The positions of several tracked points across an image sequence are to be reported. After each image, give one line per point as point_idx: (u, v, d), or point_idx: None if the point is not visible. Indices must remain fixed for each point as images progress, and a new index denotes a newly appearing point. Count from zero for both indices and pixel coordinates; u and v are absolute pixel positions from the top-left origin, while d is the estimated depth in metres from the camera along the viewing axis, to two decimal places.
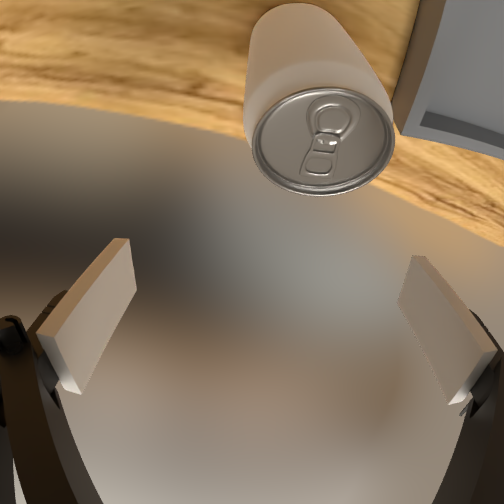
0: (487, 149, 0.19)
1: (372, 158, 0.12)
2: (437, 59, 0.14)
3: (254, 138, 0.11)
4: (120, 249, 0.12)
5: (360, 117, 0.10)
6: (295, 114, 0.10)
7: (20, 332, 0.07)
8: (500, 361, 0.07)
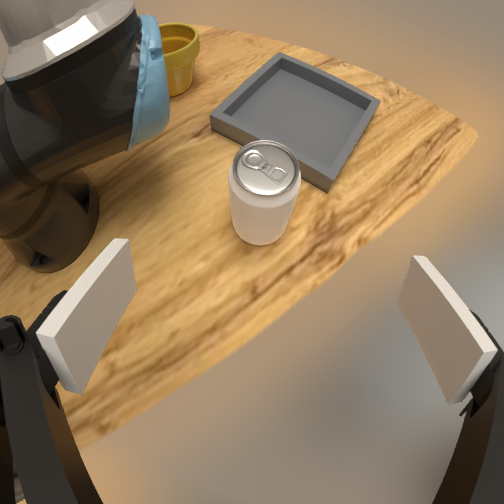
0: (357, 132, 0.37)
1: (283, 153, 0.26)
2: None
3: (244, 186, 0.24)
4: (120, 249, 0.12)
5: (257, 151, 0.26)
6: (244, 171, 0.25)
7: (20, 332, 0.07)
8: (500, 361, 0.07)
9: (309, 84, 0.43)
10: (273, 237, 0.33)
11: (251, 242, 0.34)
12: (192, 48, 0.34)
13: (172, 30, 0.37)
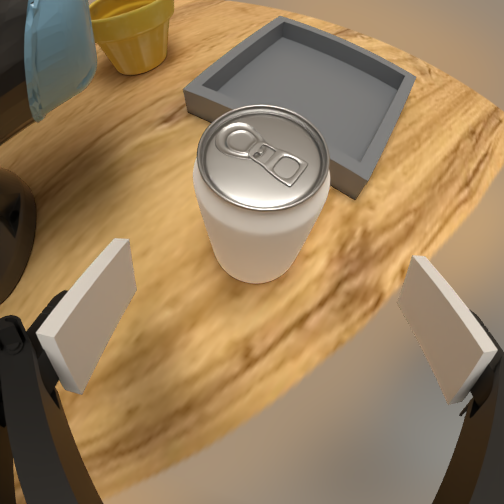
0: (393, 113, 0.24)
1: (297, 129, 0.13)
2: None
3: (218, 193, 0.12)
4: (120, 249, 0.12)
5: (247, 124, 0.13)
6: (219, 161, 0.12)
7: (20, 332, 0.07)
8: (500, 361, 0.07)
9: (321, 55, 0.30)
10: (277, 273, 0.21)
11: (242, 279, 0.22)
12: (162, 5, 0.22)
13: None
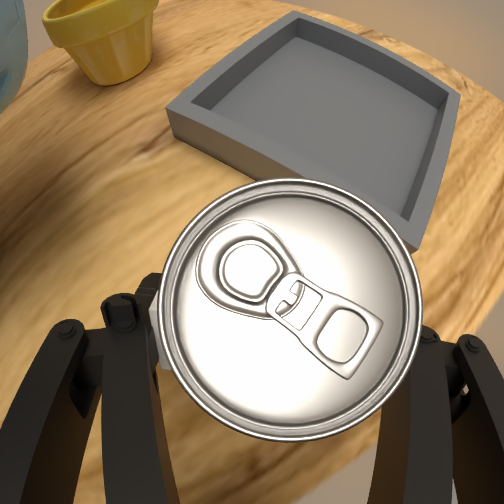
0: (442, 146, 0.18)
1: (362, 235, 0.07)
2: (320, 175, 0.17)
3: (205, 408, 0.05)
4: None
5: (263, 224, 0.07)
6: (205, 322, 0.06)
7: (134, 311, 0.08)
8: None
9: (345, 60, 0.24)
10: None
11: None
12: None
13: None
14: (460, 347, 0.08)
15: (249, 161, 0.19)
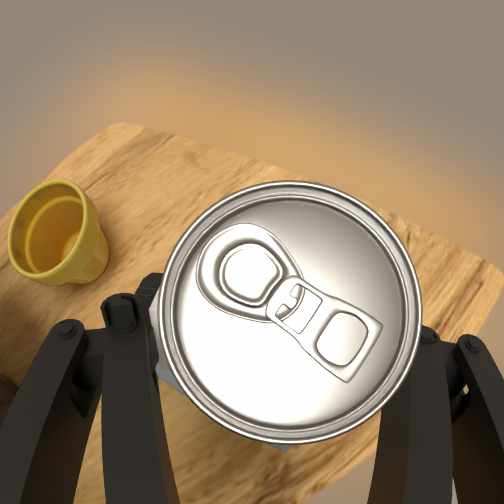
0: None
1: (362, 238, 0.07)
2: None
3: (205, 411, 0.05)
4: None
5: (263, 227, 0.07)
6: (206, 325, 0.06)
7: (134, 311, 0.08)
8: None
9: None
10: None
11: None
12: (81, 251, 0.24)
13: (62, 189, 0.26)
14: (460, 347, 0.08)
15: None
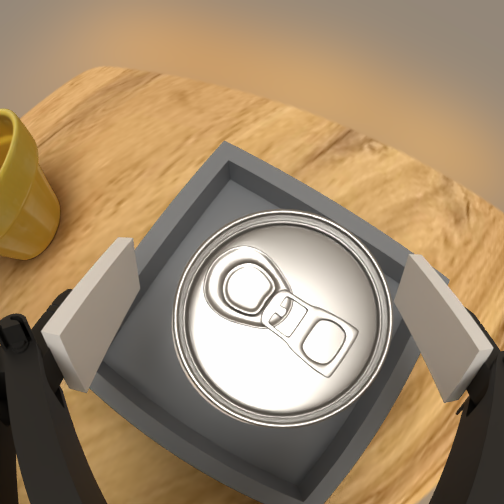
0: (385, 401, 0.15)
1: (343, 257, 0.08)
2: (213, 468, 0.14)
3: (212, 400, 0.07)
4: (124, 248, 0.12)
5: (258, 250, 0.08)
6: (212, 330, 0.07)
7: (25, 331, 0.07)
8: (496, 359, 0.07)
9: None
10: None
11: None
12: None
13: (0, 125, 0.15)
14: None
15: None
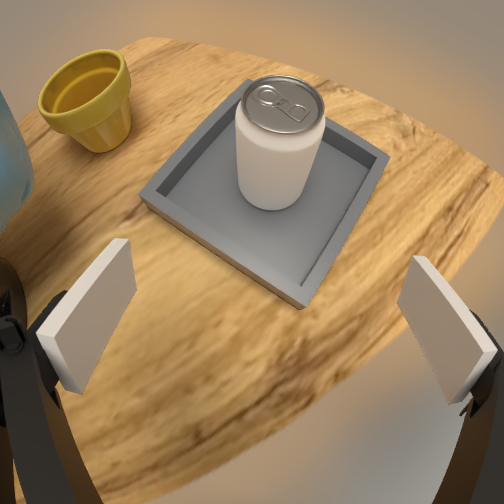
0: (351, 218, 0.27)
1: (304, 90, 0.19)
2: (239, 254, 0.26)
3: (255, 122, 0.18)
4: (120, 249, 0.12)
5: (271, 86, 0.19)
6: (255, 106, 0.19)
7: (20, 332, 0.07)
8: (500, 361, 0.07)
9: None
10: (288, 199, 0.27)
11: (261, 206, 0.28)
12: (113, 93, 0.24)
13: (99, 60, 0.26)
14: None
15: (196, 237, 0.27)
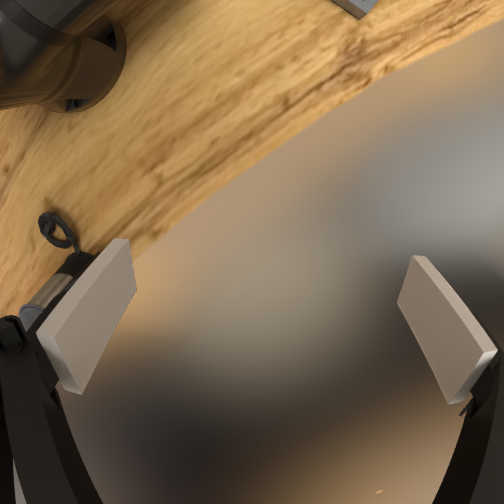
0: None
1: None
2: None
3: None
4: (120, 249, 0.12)
5: None
6: None
7: (20, 332, 0.07)
8: (500, 361, 0.07)
9: None
10: None
11: None
12: None
13: None
14: None
15: None
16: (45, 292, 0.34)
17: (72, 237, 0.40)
